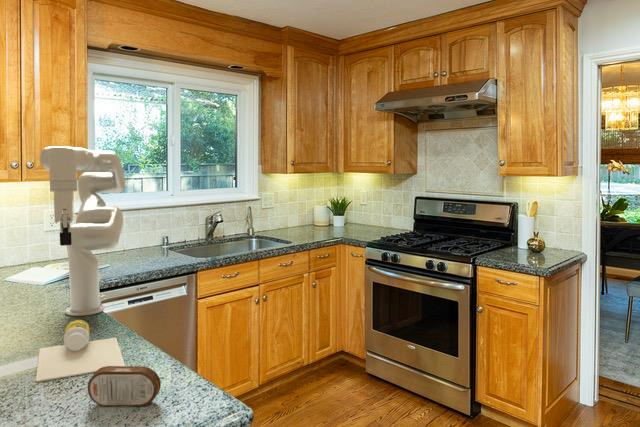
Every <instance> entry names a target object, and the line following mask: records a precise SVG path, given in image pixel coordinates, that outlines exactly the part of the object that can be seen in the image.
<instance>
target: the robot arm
mask: <svg viewBox="0 0 640 427" xmlns="http://www.w3.org/2000/svg"><path fill="white" fill-rule="evenodd" d="M39 163H40V165H41V167H42V168H44V169H45V171H48V172H49V175H48V176H49V192H53V211H54V212H53V215H54V216H53V217H54V223H55V224H58V223H59V227H60V232H59V245H60V247H61V246H63V247H64V246H66V250H67V251H66V252H67V256H68V257H67V258H68V274H69V275H68V277H69V279H68V280H69V301H70V302H69V304H70V306H69V307H68V308H66V309H65V314H66V315H68V316H72V317H83V316H92V315H96V314H99V313H101V312H103V311H105V308H106V307H105V305H104V304H102V302H104V301H105V300H107V299H108V296H107V295H106V294H100V269H99V261H98V258H97V257H96V256H95V255H94V253H93V252H92V251H103V250H104V251H109V250H110V251H111V250H114V249H116V247H117V246H118V245H119V240H120V237H121V233H122V229H123V225H124V215H123V212H122V210H121V208H119V207H117V206H112V205H111V206H110V205H109V206H107V205H106V202H105V201H104V199H103V198H102V197H101V196H100V195H99V194H119V193H122V192H123V191H124V190H125V188H126V178H125V173H124V170H123V166H122V163H121V159H120V157H119V155H118V154H117V153H116V152H115V151H113V150H90V149H86V148H83V147H79V146H78V147H76V146H75V147H74V146H73V147H72V146H47V147H44V148H42V150H41V151H40V154H39ZM77 173H82V174H80V175H79V176H78V175H77ZM74 192H78V195H79V199H80V202H81V205H80V207H79V210H78V213H77V215H76V219H75V223H74V224H72V223H73V219H74ZM71 224H72V225H71Z"/></svg>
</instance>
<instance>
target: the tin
mask: <svg viewBox="0 0 640 427" xmlns="http://www.w3.org/2000/svg"><path fill="white" fill-rule="evenodd" d="M92 374H93V375H92V376H91V377H90V379H89V381H88V383H87V393H88V396H89V398H90V399H91V401H92V402H93V403H95V404H96V405H99V406H101V407H105V406H141V407H145V406H148V405H149V404H151V403H152V402H153V401H154V400H155V398H156V397H157V396H158V394H159V392H160V390H161V384H162V383H161V379H160V376H159V375H158V374H157V372H156V371H155V370H154V369H152V368H150V367H147V366H144V365H139V366H137V365H133V366H131V365H129V366H128V365H125V366H105V367H102V368H100V369H98V370H97V371H96V372H95V373H92Z"/></svg>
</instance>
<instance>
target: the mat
mask: <svg viewBox="0 0 640 427" xmlns="http://www.w3.org/2000/svg"><path fill="white" fill-rule="evenodd" d="M37 360H38V361H37V368H36V377H35V383H41V382H42V383H43V382H47V381H52V380H53V381H54V380H58V379H66V378H71V376H72V377H76V376H77V375H78V376H83V375H89V374H94V372H96V371H97V370H98V369H100V368H102V367H105V366H126V364H125V360H124V357H123V355H122V351H121V348H120V345H119V343H118V340H117V337H110V338H104V339H97V340H89V341H88V343H87V345H86V346H85V347H83V348H82V349H80V350H77V351H73V350H70V349H69V348H68V347H67V346H66V345H65V344H63V345H62V344H61V345H54V346H47V347H41V348H40V347H39V352H38V359H37Z"/></svg>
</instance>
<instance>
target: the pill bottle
mask: <svg viewBox="0 0 640 427" xmlns="http://www.w3.org/2000/svg"><path fill="white" fill-rule="evenodd" d="M65 327H66V328H65V329H64V330H65V331H64V335H63V343H64V344H63V345H66V346H67V347H68V348H69V349H70V350H73V351H77V350H80V349H82V348H83V347H85V346H86V345H87V343H88V341H90V331H91V330H90V325H89V323H88V322H86V321H85V320H82V319H75V320H72V321H71V322H69V323H68V324H67V326H65Z"/></svg>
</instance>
